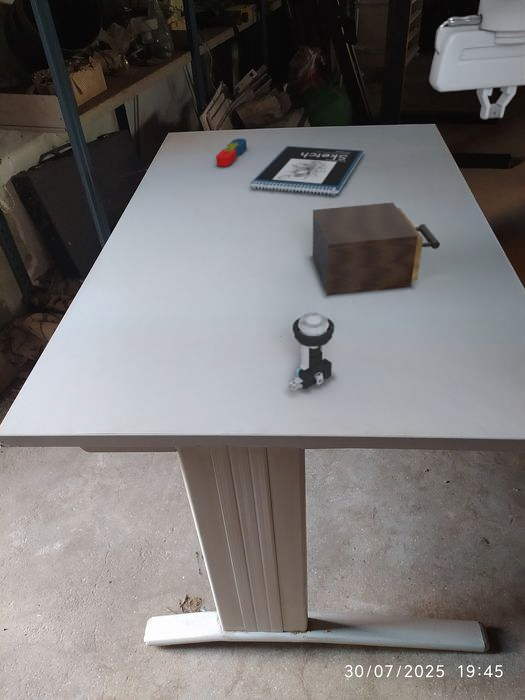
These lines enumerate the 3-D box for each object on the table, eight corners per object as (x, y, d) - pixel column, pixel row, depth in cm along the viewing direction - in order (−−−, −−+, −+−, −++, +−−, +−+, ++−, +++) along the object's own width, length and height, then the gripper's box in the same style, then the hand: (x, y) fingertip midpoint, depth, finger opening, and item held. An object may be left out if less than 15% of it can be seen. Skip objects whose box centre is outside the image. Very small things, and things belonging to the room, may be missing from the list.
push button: (304, 402, 71) (303, 342, 65) (278, 382, 75) (275, 323, 68) (340, 380, 74) (343, 320, 68) (314, 362, 78) (314, 303, 72)
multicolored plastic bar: (228, 168, 143) (227, 156, 141) (214, 167, 144) (213, 156, 142) (248, 148, 155) (247, 137, 154) (235, 147, 156) (235, 136, 155)
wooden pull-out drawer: (417, 244, 102) (422, 205, 97) (441, 277, 92) (448, 236, 88) (325, 253, 101) (326, 214, 96) (339, 287, 92) (341, 246, 87)
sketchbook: (362, 155, 146) (363, 147, 145) (337, 198, 124) (337, 189, 123) (286, 150, 152) (286, 142, 151) (249, 190, 130) (249, 181, 129)
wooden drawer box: (388, 250, 103) (393, 202, 97) (410, 287, 92) (418, 235, 86) (312, 257, 102) (312, 209, 96) (326, 295, 91) (328, 244, 86)
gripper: (446, 21, 71) (432, 129, 80) (595, 9, 72) (565, 117, 81) (430, 15, 76) (418, 117, 85) (569, 4, 77) (543, 107, 86)
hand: (491, 117), depth 83 cm, fingers closed
